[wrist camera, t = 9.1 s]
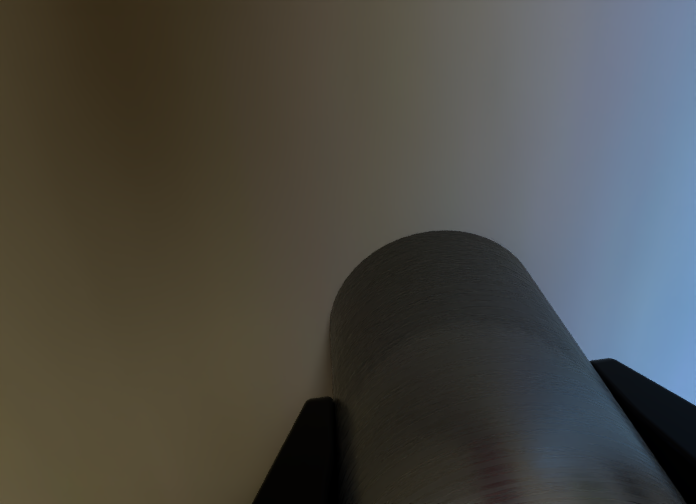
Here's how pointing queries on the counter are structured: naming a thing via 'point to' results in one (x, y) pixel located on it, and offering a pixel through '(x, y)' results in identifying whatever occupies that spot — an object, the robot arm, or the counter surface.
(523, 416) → the cylinder
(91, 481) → the counter surface
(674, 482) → the robot arm
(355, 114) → the counter surface
